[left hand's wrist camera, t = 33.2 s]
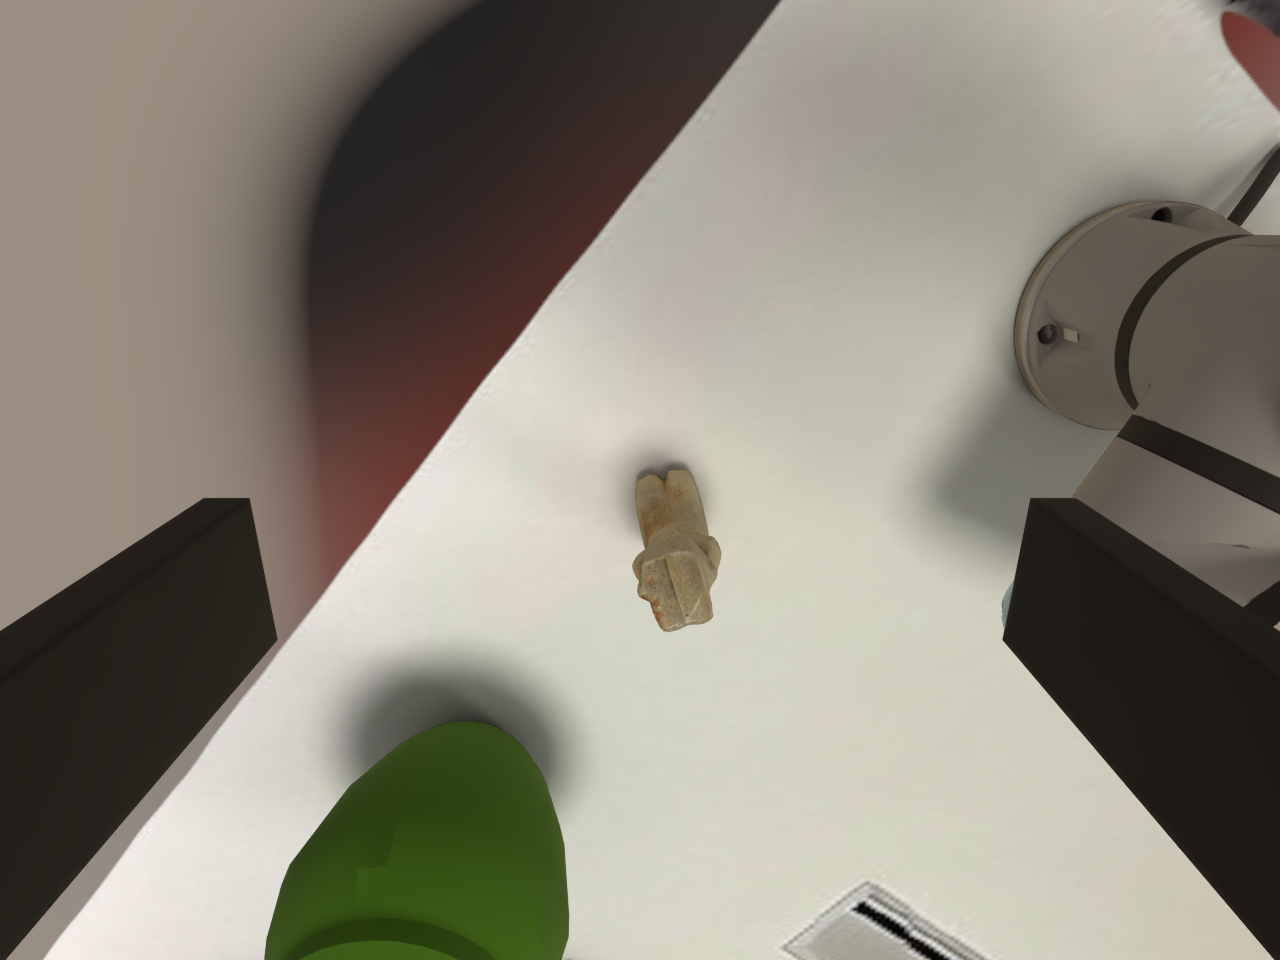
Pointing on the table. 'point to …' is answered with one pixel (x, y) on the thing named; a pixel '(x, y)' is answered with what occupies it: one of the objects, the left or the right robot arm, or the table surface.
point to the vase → (432, 860)
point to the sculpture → (675, 551)
